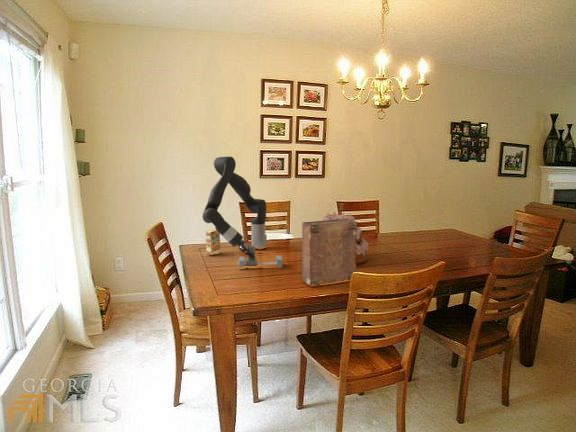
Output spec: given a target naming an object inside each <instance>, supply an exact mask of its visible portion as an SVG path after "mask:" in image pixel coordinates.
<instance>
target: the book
mask: <svg viewBox="0 0 576 432" xmlns="http://www.w3.org/2000/svg"><path fill="white" fill-rule="evenodd" d="M357 227H358V222H357V221H355V222H350V221H347V219H338V220H326V221H323V220H316V221H304V222H302V223H301V236H302V238H301V240H302V241H301V255H302V256H301V257H302V258H301V281H302V280H303V281H304V282H305V283H307V284H308V285H310V286H313V285H320V284H326V283H333V282H338V281H344V280H350V279H351V275H352V273H353V272H356V273H357V267H356V243H357ZM305 283H304V284H305ZM308 285H307V286H308Z"/></svg>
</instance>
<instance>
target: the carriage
mask: <svg viewBox="0 0 576 432" xmlns="http://www.w3.org/2000/svg"><path fill="white" fill-rule="evenodd" d="M248 248H249V250H250V251H251V253H252V254H253V255H255V256H256V252H255V251H256V250H255V247H254V246H252V245H249V246H248ZM245 263H246V266H257V263H258V257H255V258H254V259H252V258H250V257H249V256H248V255H247V257H245Z"/></svg>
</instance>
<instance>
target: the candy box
mask: <svg viewBox="0 0 576 432" xmlns="http://www.w3.org/2000/svg"><path fill="white" fill-rule="evenodd" d="M205 243H206V244H205V246H206V252H207V251H208V252H213V251H216V250H219V249H220V250H221V234H220V233H219V232H218V231H217V230H216V229H215V228H214V229H211V230H207V231H205Z"/></svg>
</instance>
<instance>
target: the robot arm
mask: <svg viewBox="0 0 576 432" xmlns="http://www.w3.org/2000/svg"><path fill="white" fill-rule="evenodd" d="M236 163H237V162H236V159H235V158H234V157H233V156H219V157H216V158H215V159H214V160H213V166H214V169H215V171H216V172H217V173H218V174H219V175H220V178H219V179H218V181H217V182H216V183H215V184H214V185H213V187H212V188H211V190H210V193H209V196H208V201H207V204H206V206H205V207H204V210H203V213H202V219H203V222H204V223H206V224H212V225H213V226H214V227H215V228H214V229H216V230H217V231H218V232H219V233H220V236H222V237H223V238H224V239H225V240H226V241H227V242H228V243H229V244H230V245H231V246H232V247H237V246H238V249H239V250H240V251H241V252H242V253H243V254H244V255H246V256H247V257H248V256H249V257H250V258H252V259H254V258H256V254H255V255H253V254H252V253H251V251H250V250H249V248H248V246H250V245H251V246H254V247H256V248H259V247H265V246H267V243H268V241H267V240H268V239H267V237H268V236H267V234H266V219H267V202H266V200H265V199H263V198H261V199H260V198H254V197H253V196H252V195H251V192H252V191H251V190H252V189H251V186H250V183H248V181H247V180H246V179H245V178H244V177H242V176H241V175H240V174H238V173H236V172H235V170H236ZM228 184H229V185H230V186H231V188H232V189H233V191H234V192H235V193H236V194H237V195H238V197H240V199H241V201H242V202H243V203H244V205H245V206H246V207H247V209H248V211H249V212H250V213H253V214H257V215H256V217H252V218H251V220H250V224H251V225H250V228H251V229H250V234H251V235H250V237H251V242H250V243H251V244H250V245H249V244H248V243H247V242H246V241H245V240H244V236H243V235H242V234H241V233H240V232H239V231H238V230H236V229H235V228H234V227H233V226H231V225H230V223H228V222H227V221H226V219H224V217H223V216H222V214H221V213H220V212H219V211H218V209H219V207H220V206H221V204H222V201H223V197H224V194H225V190H226V188H227V187H228Z"/></svg>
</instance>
